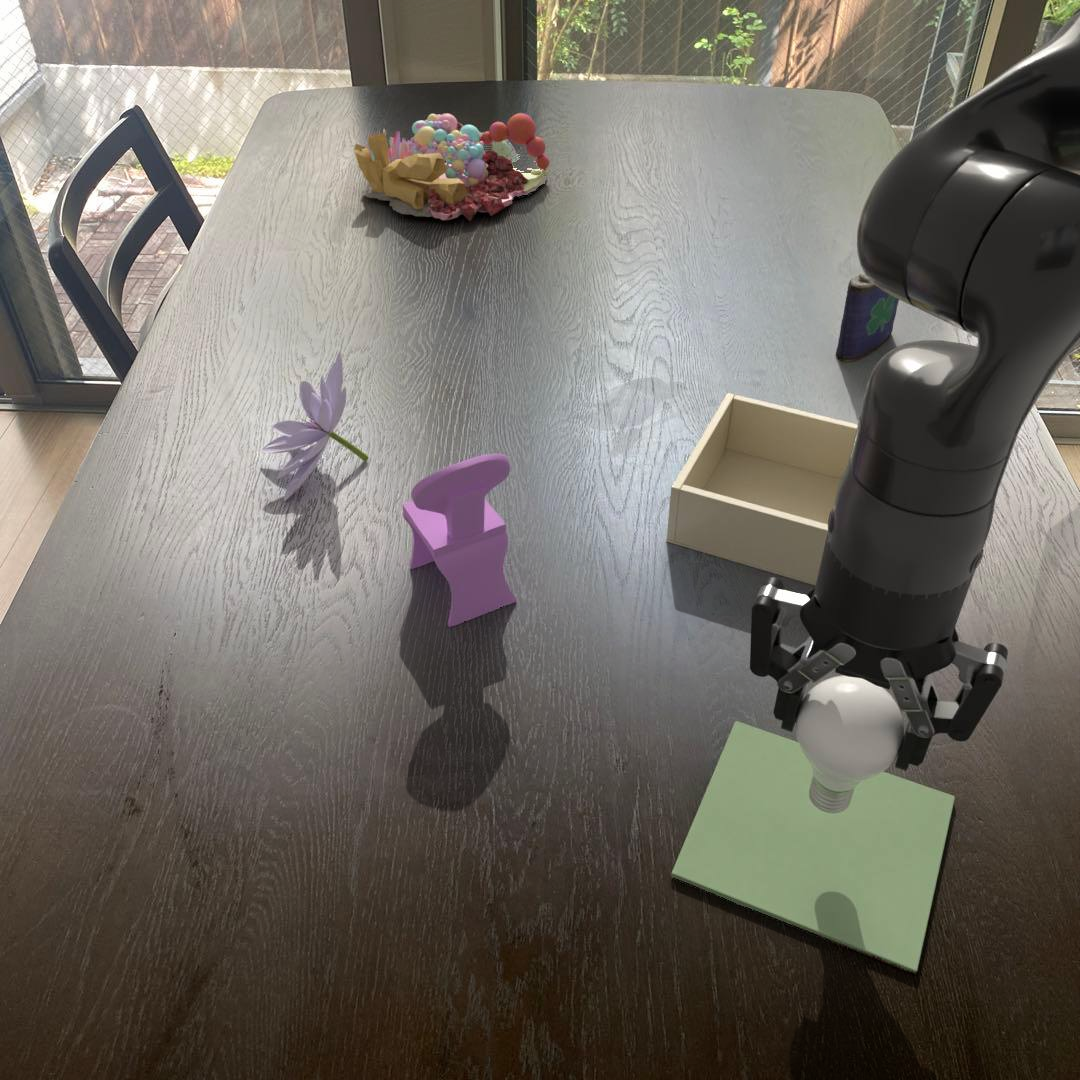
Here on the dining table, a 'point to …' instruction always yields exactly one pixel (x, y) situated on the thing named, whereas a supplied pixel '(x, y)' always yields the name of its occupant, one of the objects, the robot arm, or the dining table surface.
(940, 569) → the robot arm
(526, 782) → the dining table surface
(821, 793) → the lightbulb
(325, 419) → the water lily
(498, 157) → the candy landscape model
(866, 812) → the mat
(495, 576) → the toy chair
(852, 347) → the flask
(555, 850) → the dining table surface
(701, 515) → the open wooden box
